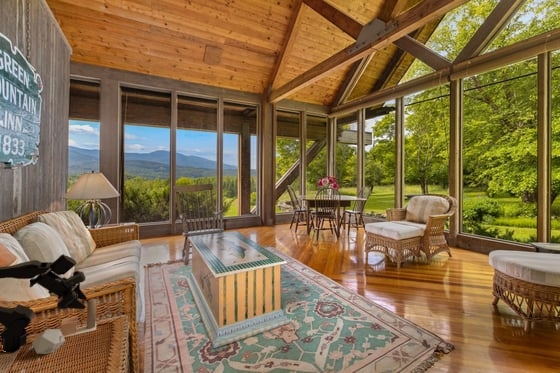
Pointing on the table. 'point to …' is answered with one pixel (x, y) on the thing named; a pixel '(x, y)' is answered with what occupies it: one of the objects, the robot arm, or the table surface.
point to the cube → (69, 326)
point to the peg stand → (88, 318)
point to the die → (48, 341)
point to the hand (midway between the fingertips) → (85, 303)
